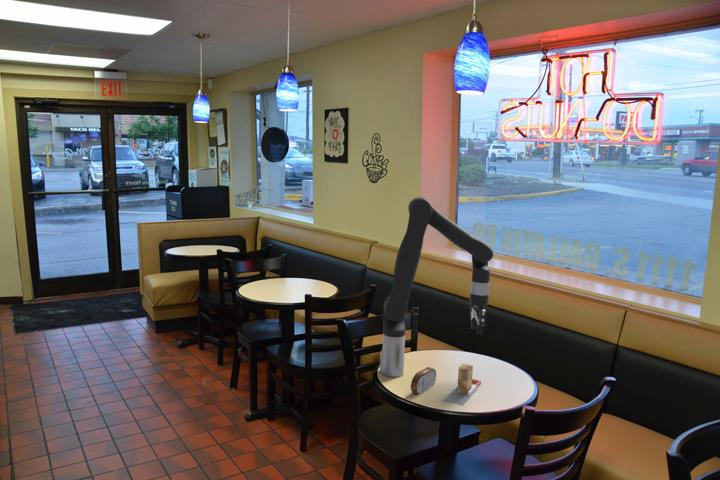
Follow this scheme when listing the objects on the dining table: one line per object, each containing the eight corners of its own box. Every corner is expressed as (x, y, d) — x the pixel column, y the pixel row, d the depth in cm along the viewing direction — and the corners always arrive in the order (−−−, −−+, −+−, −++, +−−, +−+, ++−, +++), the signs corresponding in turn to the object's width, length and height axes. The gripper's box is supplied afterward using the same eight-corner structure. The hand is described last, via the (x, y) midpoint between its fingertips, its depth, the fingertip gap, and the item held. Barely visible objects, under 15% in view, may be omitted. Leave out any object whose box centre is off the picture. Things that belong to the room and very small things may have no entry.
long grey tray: (442, 401, 206) (442, 396, 205) (463, 380, 225) (463, 376, 225) (462, 406, 202) (463, 401, 201) (482, 385, 221) (482, 380, 221)
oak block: (457, 391, 213) (458, 367, 212) (461, 387, 217) (463, 363, 216) (466, 394, 211) (468, 370, 210) (471, 389, 215) (472, 365, 214)
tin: (430, 383, 222) (431, 363, 220) (437, 385, 220) (438, 365, 218) (409, 395, 210) (410, 374, 209) (416, 397, 208) (417, 377, 207)
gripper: (465, 289, 231) (462, 327, 232) (475, 295, 216) (472, 335, 218) (482, 290, 231) (480, 327, 233) (494, 296, 217) (491, 336, 218)
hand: (476, 331), depth 225 cm, fingers open, 8 cm apart
